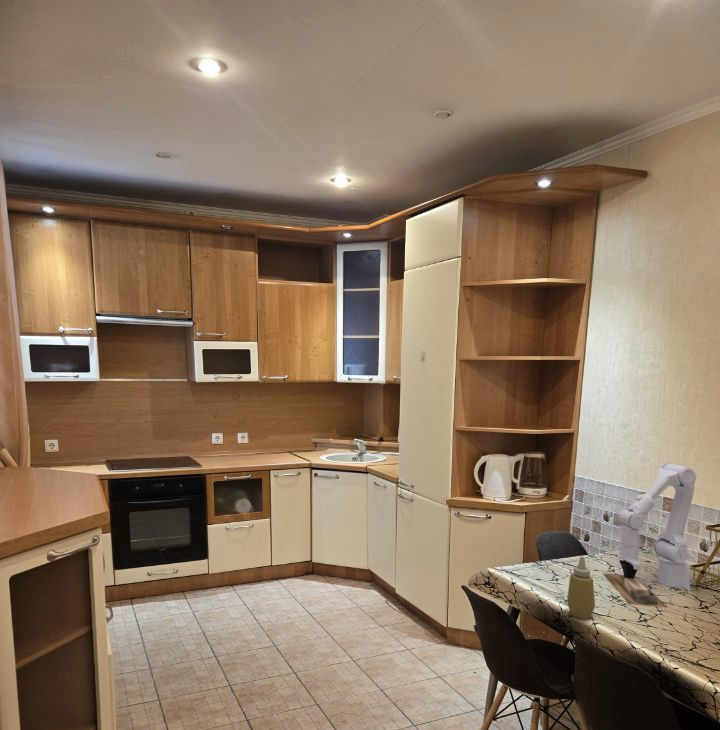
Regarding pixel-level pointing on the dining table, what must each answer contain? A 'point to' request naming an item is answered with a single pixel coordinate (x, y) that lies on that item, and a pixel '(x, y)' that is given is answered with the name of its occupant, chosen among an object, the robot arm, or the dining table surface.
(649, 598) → the board
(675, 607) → the dining table surface
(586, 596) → the squeeze bottle
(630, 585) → the cream rectangular block
